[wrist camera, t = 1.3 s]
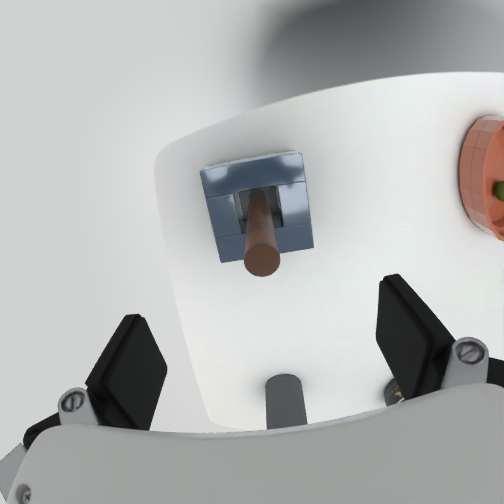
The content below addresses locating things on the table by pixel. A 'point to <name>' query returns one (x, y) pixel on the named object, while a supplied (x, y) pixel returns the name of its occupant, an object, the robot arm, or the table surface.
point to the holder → (253, 177)
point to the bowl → (484, 174)
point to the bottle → (284, 402)
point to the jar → (393, 394)
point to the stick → (260, 237)
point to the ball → (499, 190)
